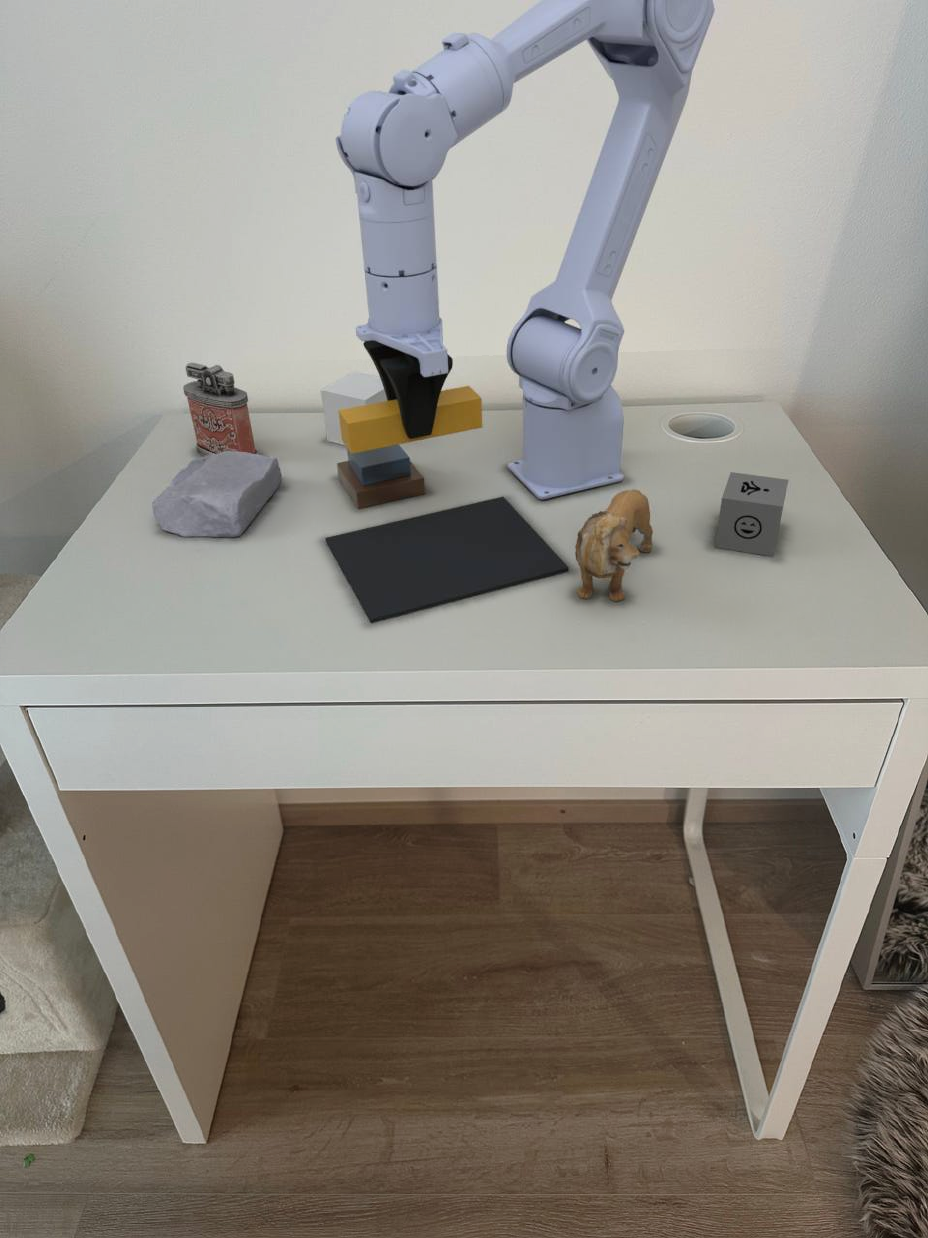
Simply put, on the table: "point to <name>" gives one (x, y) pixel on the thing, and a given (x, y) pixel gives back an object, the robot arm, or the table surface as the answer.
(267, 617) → the table surface
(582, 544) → the lion figurine
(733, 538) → the dice cube
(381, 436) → the bar
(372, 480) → the brown blue stepped block
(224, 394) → the lighter
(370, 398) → the white cube
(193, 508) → the stone block
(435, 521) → the mat
